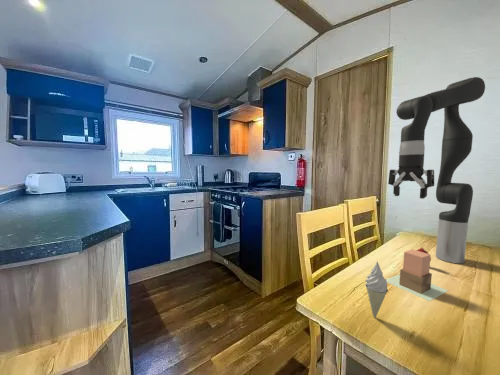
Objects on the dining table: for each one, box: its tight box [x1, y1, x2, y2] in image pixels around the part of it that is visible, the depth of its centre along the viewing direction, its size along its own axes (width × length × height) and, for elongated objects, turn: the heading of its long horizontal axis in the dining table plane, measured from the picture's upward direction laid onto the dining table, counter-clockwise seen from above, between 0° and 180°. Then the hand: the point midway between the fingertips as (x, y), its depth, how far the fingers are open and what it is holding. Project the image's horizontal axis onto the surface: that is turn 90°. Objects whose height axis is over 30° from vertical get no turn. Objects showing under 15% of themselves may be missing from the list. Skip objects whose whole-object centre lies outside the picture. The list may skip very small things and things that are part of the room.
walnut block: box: [399, 268, 433, 294], centre depth 69 cm, size 6×6×5 cm
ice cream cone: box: [364, 261, 389, 319], centre depth 56 cm, size 5×5×15 cm
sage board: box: [385, 273, 449, 302], centre depth 70 cm, size 12×13×1 cm
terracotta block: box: [402, 249, 431, 277], centre depth 69 cm, size 5×5×6 cm
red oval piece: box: [415, 246, 432, 262], centre depth 87 cm, size 6×6×8 cm
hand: (409, 197), depth 82 cm, fingers open, 8 cm apart
